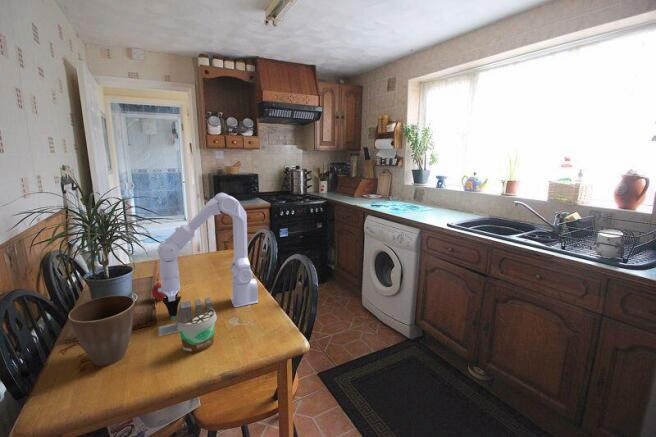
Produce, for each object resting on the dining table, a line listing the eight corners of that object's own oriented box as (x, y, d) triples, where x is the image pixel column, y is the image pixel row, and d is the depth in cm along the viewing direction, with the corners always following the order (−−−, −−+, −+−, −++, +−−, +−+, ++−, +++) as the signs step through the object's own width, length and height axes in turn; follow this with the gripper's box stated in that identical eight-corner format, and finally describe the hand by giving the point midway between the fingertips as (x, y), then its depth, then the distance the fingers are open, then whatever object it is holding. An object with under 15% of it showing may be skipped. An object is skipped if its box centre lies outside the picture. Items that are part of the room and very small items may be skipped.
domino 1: (175, 314, 115) (174, 294, 113) (176, 320, 111) (174, 299, 109) (170, 315, 114) (169, 294, 112) (171, 321, 110) (169, 300, 109)
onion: (162, 304, 122) (160, 284, 120) (149, 302, 123) (147, 283, 121) (172, 297, 128) (170, 279, 126) (159, 295, 129) (158, 277, 127)
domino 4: (201, 319, 111) (200, 299, 110) (202, 325, 108) (201, 304, 106) (196, 320, 111) (195, 300, 109) (197, 326, 107) (196, 305, 105)
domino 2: (181, 323, 109) (185, 302, 108) (182, 330, 105) (186, 307, 104) (176, 324, 108) (180, 302, 107) (177, 330, 104) (180, 307, 103)
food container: (191, 361, 89) (189, 330, 87) (178, 354, 93) (176, 323, 91) (226, 340, 100) (225, 311, 98) (213, 334, 103) (212, 306, 101)
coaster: (178, 323, 109) (178, 322, 109) (179, 332, 104) (179, 331, 104) (158, 327, 106) (158, 326, 106) (158, 336, 101) (158, 336, 101)
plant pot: (133, 369, 86) (127, 316, 82) (67, 381, 81) (57, 325, 77) (144, 339, 99) (139, 292, 96) (87, 348, 94) (80, 299, 91)
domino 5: (210, 317, 113) (209, 297, 111) (212, 323, 109) (211, 302, 107) (206, 318, 112) (205, 298, 111) (207, 324, 108) (206, 303, 107)
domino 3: (191, 321, 110) (190, 300, 108) (192, 328, 106) (191, 306, 105) (186, 322, 109) (185, 301, 108) (187, 329, 105) (186, 307, 104)
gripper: (157, 270, 114) (160, 304, 116) (156, 285, 101) (160, 323, 104) (178, 267, 117) (181, 301, 120) (180, 281, 104) (183, 319, 107)
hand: (172, 311), depth 112 cm, fingers open, 6 cm apart
